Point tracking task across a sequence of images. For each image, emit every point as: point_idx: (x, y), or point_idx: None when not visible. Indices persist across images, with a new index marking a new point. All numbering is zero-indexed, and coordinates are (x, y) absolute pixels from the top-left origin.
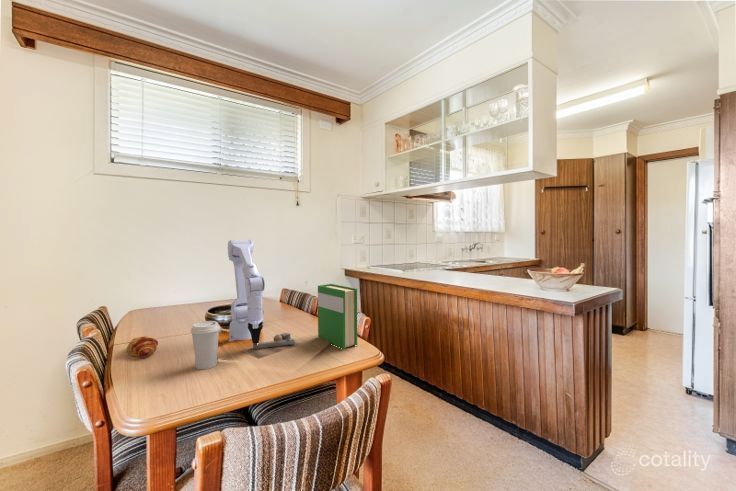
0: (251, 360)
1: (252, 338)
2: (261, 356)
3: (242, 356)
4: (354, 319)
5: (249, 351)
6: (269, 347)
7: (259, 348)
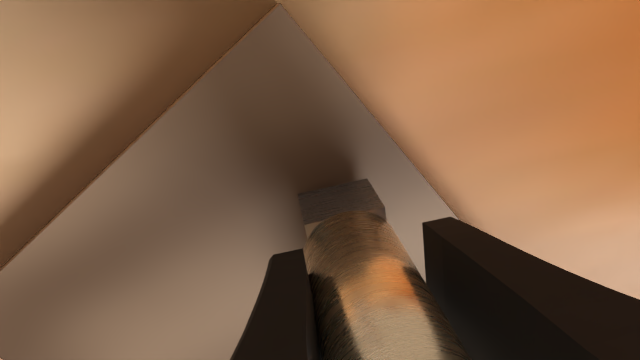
0: (11, 204)
1: (253, 327)
2: (25, 341)
3: (174, 44)
4: None
5: (238, 148)
6: None
7: None
